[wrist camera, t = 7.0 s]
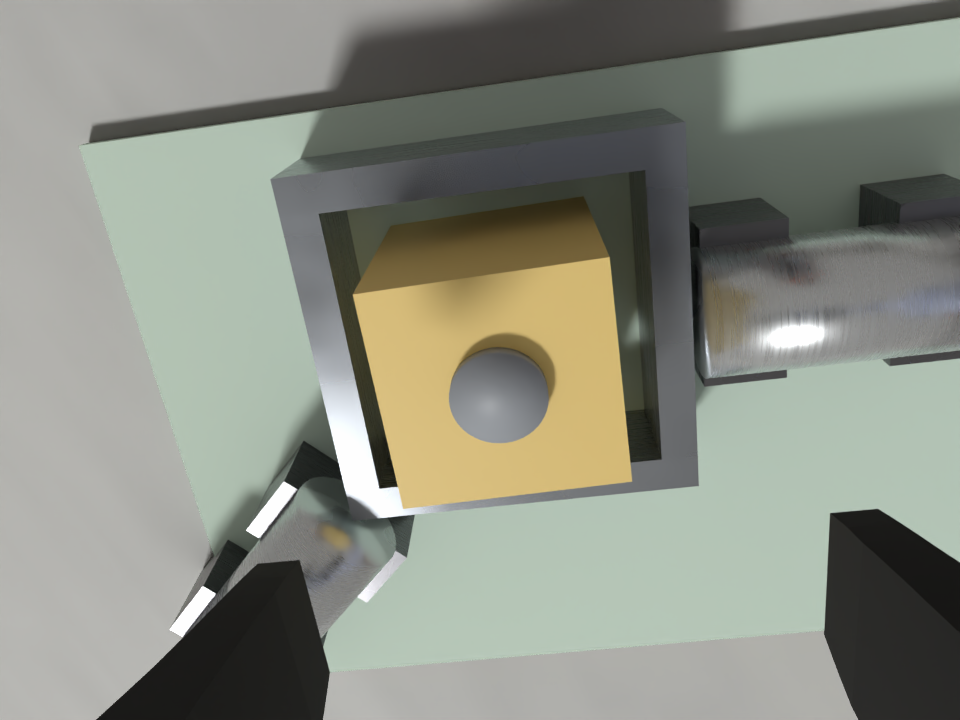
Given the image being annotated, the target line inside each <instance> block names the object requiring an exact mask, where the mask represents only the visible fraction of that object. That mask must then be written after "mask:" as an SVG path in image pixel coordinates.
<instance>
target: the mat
mask: <svg viewBox="0 0 960 720" xmlns="http://www.w3.org/2000/svg"><path fill="white" fill-rule="evenodd" d="M657 108H663V109H665V110H666V111H668V112H670V113H671V114H673V115H675V116H677V117H678V118H680V119H682V120H683V121H685V122H686V148H687V175H688V203H689V207H690V206H698V205H706V204H714V203H721V202H729V201H737V200H744V199H752V198H762V199H763V200H765V201H766V202H767V203H769V204H770V205H772V206H773V207H774V208H776V209H777V210H779V211H780V212H781V213H783V214H784V215H786V216H787V217H788V218H789V236H790V235H798V234H806V233H814V232H822V231H830V230H838V229H846V228H854V227H858V222H859V201H860V184H868V183H876V182H884V181H891V180H899V179H907V178H915V177H922V176H930V175H938V174H946V175H949V176H951V177H954V178H957V179H960V17H955V18H948V19H941V20H934V21H927V22H920V23H913V24H906V25H899V26H893V27H886V28H879V29H872V30H865V31H858V32H851V33H844V34H837V35H830V36H823V37H817V38H810V39H803V40H796V41H789V42H782V43H775V44H768V45H761V46H754V47H748V48H741V49H734V50H727V51H720V52H713V53H706V54H699V55H692V56H685V57H679V58H672V59H665V60H658V61H651V62H644V63H637V64H630V65H623V66H616V67H610V68H603V69H596V70H589V71H582V72H575V73H568V74H561V75H554V76H547V77H541V78H534V79H527V80H520V81H513V82H506V83H499V84H492V85H485V86H478V87H471V88H465V89H458V90H451V91H444V92H437V93H430V94H423V95H416V96H409V97H402V98H396V99H389V100H382V101H375V102H368V103H361V104H354V105H347V106H340V107H333V108H327V109H320V110H313V111H306V112H299V113H292V114H285V115H278V116H271V117H264V118H258V119H251V120H244V121H237V122H230V123H223V124H216V125H209V126H202V127H195V128H189V129H182V130H175V131H168V132H161V133H154V134H147V135H140V136H133V137H126V138H119V139H113V140H106V141H99V142H92V143H86V144H83V145H80V146H79V148H80V151H81V154H82V157H83V160H84V163H85V166H86V169H87V172H88V175H89V178H90V181H91V184H92V187H93V190H94V194H95V197H96V200H97V203H98V206H99V209H100V212H101V215H102V218H103V221H104V224H105V227H106V230H107V233H108V236H109V239H110V242H111V245H112V248H113V251H114V254H115V257H116V260H117V263H118V266H119V269H120V272H121V275H122V279H123V282H124V285H125V288H126V291H127V294H128V297H129V300H130V303H131V306H132V309H133V312H134V315H135V318H136V321H137V324H138V327H139V330H140V333H141V336H142V339H143V342H144V345H145V348H146V351H147V354H148V357H149V360H150V363H151V367H152V370H153V373H154V376H155V379H156V382H157V385H158V388H159V391H160V394H161V397H162V400H163V403H164V406H165V409H166V412H167V415H168V418H169V421H170V424H171V427H172V430H173V433H174V436H175V439H176V442H177V445H178V448H179V452H180V455H181V458H182V461H183V464H184V467H185V470H186V473H187V476H188V479H189V482H190V485H191V488H192V491H193V494H194V497H195V500H196V503H197V506H198V509H199V512H200V515H201V518H202V521H203V524H204V527H205V530H206V533H207V537H208V540H209V543H210V546H211V549H212V552H213V555H214V557H215V556H216V555H217V553H218V552H219V551H220V549H221V548H222V547H223V545H224V544H225V543H226V541H227V540H230V541H231V542H233V543H235V544H237V545H238V546H240V547H242V548H243V549H245V550H247V551H248V552H250V551H251V550H252V548H253V547H254V546H255V545H256V543H257V542H258V541H259V539H260V538H258V537H256V536H255V535H253V534H251V533H250V532H248V531H246V530H247V528H248V526H249V524H250V522H251V520H252V518H253V516H254V514H255V512H256V510H257V508H258V506H259V504H260V502H261V500H262V498H263V496H264V494H265V492H266V490H267V488H268V486H269V485H270V484H271V483H272V481H273V480H274V479H275V477H276V476H277V475H278V473H279V472H280V471H281V469H282V468H283V467H284V465H285V464H286V463H287V462H288V460H289V459H290V458H291V456H292V455H293V454H294V452H295V451H296V450H297V448H298V447H299V446H300V445H301V443H302V442H303V441H305V442H307V443H308V444H310V445H312V446H313V447H315V448H316V449H318V450H319V451H321V452H322V453H324V454H326V455H327V456H329V457H330V458H332V459H333V460H335V461H337V462H338V458H337V454H336V450H335V446H334V442H333V437H332V433H331V429H330V425H329V421H328V417H327V413H326V408H325V404H324V400H323V396H322V392H321V388H320V384H319V379H318V375H317V371H316V367H315V363H314V359H313V355H312V350H311V346H310V342H309V338H308V334H307V330H306V325H305V321H304V317H303V313H302V309H301V305H300V301H299V296H298V292H297V288H296V284H295V280H294V276H293V272H292V267H291V263H290V259H289V255H288V251H287V247H286V243H285V238H284V234H283V230H282V226H281V222H280V218H279V213H278V209H277V205H276V201H275V197H274V193H273V189H272V184H271V180H270V179H271V178H273V177H274V176H276V175H277V174H278V173H280V172H281V171H283V170H284V169H286V168H287V167H289V166H290V165H291V164H293V163H294V162H296V161H297V160H299V159H300V158H307V157H314V156H321V155H328V154H335V153H342V152H350V151H357V150H364V149H371V148H378V147H385V146H392V145H400V144H407V143H414V142H421V141H428V140H435V139H442V138H450V137H457V136H464V135H471V134H478V133H485V132H492V131H500V130H507V129H514V128H521V127H528V126H535V125H542V124H550V123H557V122H564V121H571V120H578V119H585V118H592V117H600V116H607V115H614V114H621V113H628V112H635V111H643V110H650V109H657ZM581 196H584V198H585V200H586V203H587V205H588V208H589V210H590V212H591V215H592V217H593V219H594V222H595V224H596V226H597V229H598V231H599V233H600V236H601V238H602V240H603V243H604V245H605V247H606V250H607V252H608V254H609V257H610V265H611V275H612V285H613V295H614V305H615V315H616V325H617V335H618V345H619V355H620V365H621V375H622V385H623V395H624V405H625V411H633V410H642V409H644V398H643V383H642V367H641V352H640V337H639V321H638V306H637V291H636V276H635V260H634V245H633V230H632V214H631V199H630V184H629V172H627V173H619V174H612V175H604V176H597V177H589V178H582V179H574V180H567V181H559V182H552V183H544V184H537V185H529V186H522V187H515V188H507V189H500V190H492V191H485V192H477V193H470V194H462V195H455V196H447V197H440V198H432V199H425V200H417V201H410V202H402V203H395V204H387V205H380V206H372V207H365V208H357V209H350V210H347V215H348V219H349V224H350V229H351V234H352V239H353V244H354V248H355V253H356V258H357V263H358V268H359V273H360V277H361V279H362V277H363V275H364V273H365V271H366V270H367V268H368V266H369V264H370V262H371V261H372V259H373V257H374V255H375V253H376V252H377V250H378V248H379V246H380V244H381V242H382V241H383V239H384V237H385V235H386V233H387V232H388V230H389V228H390V226H392V225H398V224H405V223H412V222H418V221H425V220H431V219H438V218H444V217H451V216H457V215H464V214H470V213H477V212H483V211H490V210H496V209H503V208H510V207H516V206H523V205H529V204H536V203H542V202H549V201H555V200H562V199H568V198H575V197H581ZM695 393H696V421H697V448H698V475H699V486H694V487H685V488H675V489H665V490H655V491H645V492H635V493H625V494H615V495H605V496H595V497H585V498H575V499H565V500H555V501H545V502H535V503H525V504H515V505H505V506H495V507H485V508H475V509H466V510H456V511H446V512H436V513H426V514H416V515H415V517H414V522H413V528H412V533H411V539H410V544H409V549H408V555H407V558H406V559H405V561H404V562H403V563H402V564H401V565H400V566H399V567H398V568H397V570H396V571H395V572H394V573H393V574H392V575H391V576H390V577H389V579H388V580H387V581H386V582H385V583H384V584H383V585H382V586H381V588H380V589H379V590H378V591H377V592H376V593H375V594H374V595H373V597H372V598H371V599H370V600H369V601H368V602H367V603H366V602H365V601H363V600H361V599H360V598H358V597H357V598H356V599H355V600H354V601H353V603H352V604H351V605H350V606H349V607H348V608H347V609H346V611H345V612H344V613H343V614H342V615H341V616H340V617H339V618H338V620H337V621H336V622H335V623H334V624H333V625H332V626H331V628H330V629H329V630H328V632H327V636H326V639H325V642H324V646H323V648H324V652H325V656H326V659H327V663H328V667H329V671H330V672H340V671H352V670H363V669H375V668H387V667H399V666H411V665H423V664H434V663H446V662H458V661H470V660H482V659H494V658H505V657H517V656H529V655H541V654H553V653H565V652H576V651H588V650H600V649H612V648H624V647H636V646H647V645H659V644H671V643H683V642H695V641H707V640H718V639H730V638H742V637H754V636H766V635H777V634H789V633H801V632H813V631H824V627H825V606H826V586H827V565H828V544H829V524H830V513H836V512H847V511H858V510H870V509H879V510H881V511H882V512H884V513H886V514H887V515H889V516H891V517H892V518H894V519H895V520H897V521H898V522H900V523H901V524H903V525H904V526H906V527H907V528H909V529H911V530H912V531H914V532H915V533H917V534H918V535H920V536H921V537H923V538H924V539H926V540H927V541H929V542H930V543H931V544H933V545H934V546H936V547H937V548H939V549H940V550H942V551H943V552H945V553H946V554H948V555H949V556H951V557H953V558H954V559H956V560H957V561H959V562H960V359H951V360H942V361H933V362H924V363H915V364H906V365H897V366H889V365H888V364H887V363H886V362H884V361H883V360H882V359H879V360H870V361H861V362H852V363H843V364H834V365H825V366H816V367H807V368H798V369H789V370H787V378H780V379H770V380H761V381H752V382H743V383H734V384H725V385H716V386H707V387H704V385H703V383H702V381H701V379H700V378H699V376H698V374H697V372H696V370H695ZM338 463H339V462H338Z"/></svg>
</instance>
